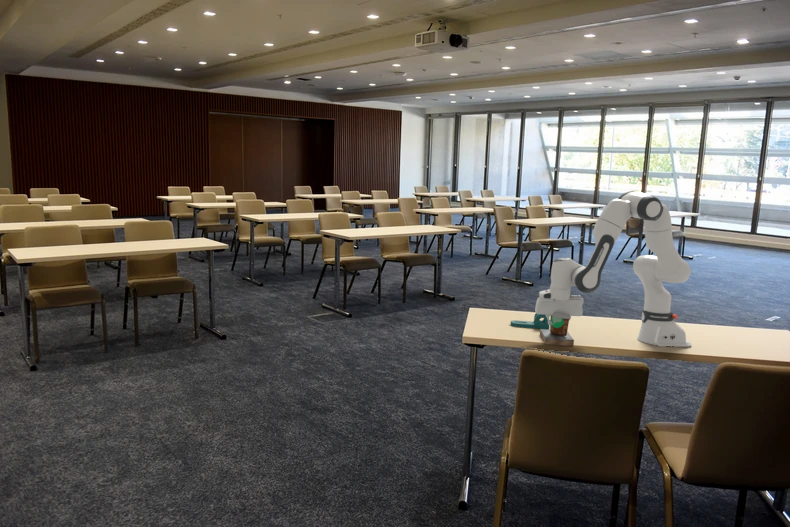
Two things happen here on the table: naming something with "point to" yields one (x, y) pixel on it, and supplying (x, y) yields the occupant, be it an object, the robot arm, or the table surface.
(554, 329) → the food container
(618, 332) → the table surface
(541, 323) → the bracket
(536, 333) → the table surface
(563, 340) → the grey flat block
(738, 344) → the table surface
